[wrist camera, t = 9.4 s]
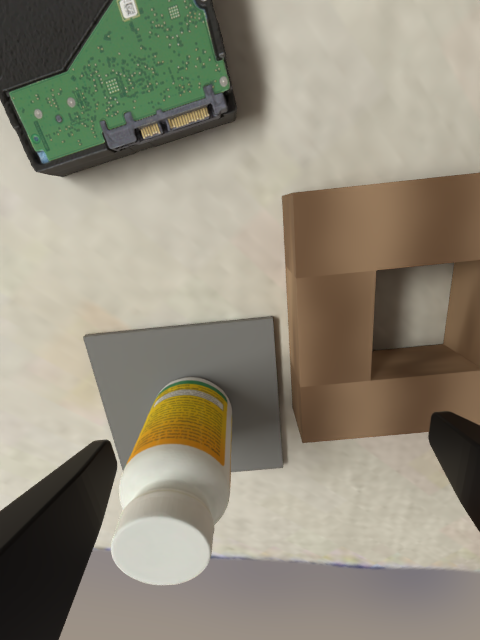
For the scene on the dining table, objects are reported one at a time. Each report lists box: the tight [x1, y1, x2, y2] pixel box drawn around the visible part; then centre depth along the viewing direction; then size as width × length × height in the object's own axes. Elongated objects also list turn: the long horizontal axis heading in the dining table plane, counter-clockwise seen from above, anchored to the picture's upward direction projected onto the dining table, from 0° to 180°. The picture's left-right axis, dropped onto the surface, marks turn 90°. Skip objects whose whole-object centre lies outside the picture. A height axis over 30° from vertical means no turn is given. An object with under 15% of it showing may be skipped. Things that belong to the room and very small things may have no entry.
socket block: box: [282, 173, 480, 443], centre depth 18 cm, size 14×14×4 cm
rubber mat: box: [83, 316, 283, 472], centre depth 21 cm, size 12×12×1 cm
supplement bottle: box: [111, 377, 232, 585], centre depth 17 cm, size 5×5×10 cm
